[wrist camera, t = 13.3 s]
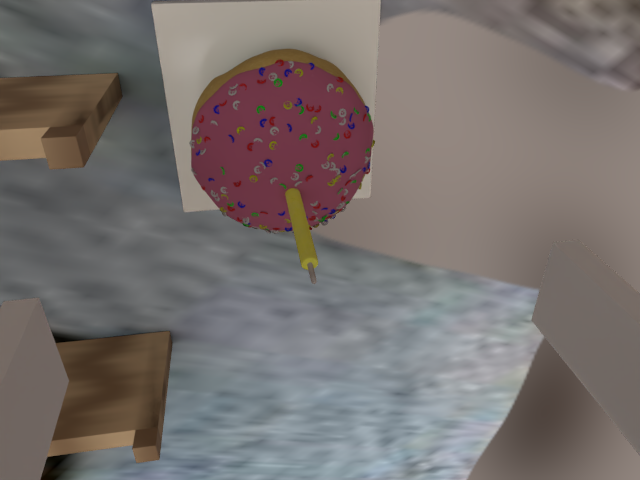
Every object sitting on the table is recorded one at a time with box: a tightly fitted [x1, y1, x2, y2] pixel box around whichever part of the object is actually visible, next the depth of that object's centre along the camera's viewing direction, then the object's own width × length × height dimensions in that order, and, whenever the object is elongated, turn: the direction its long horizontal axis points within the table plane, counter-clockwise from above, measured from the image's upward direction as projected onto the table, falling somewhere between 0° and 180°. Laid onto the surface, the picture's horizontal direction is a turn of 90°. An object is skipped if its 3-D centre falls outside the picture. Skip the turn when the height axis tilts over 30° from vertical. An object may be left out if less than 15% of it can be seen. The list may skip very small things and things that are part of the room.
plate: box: [151, 0, 381, 212], centre depth 28 cm, size 11×11×1 cm
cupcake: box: [189, 49, 375, 284], centre depth 23 cm, size 9×8×12 cm
